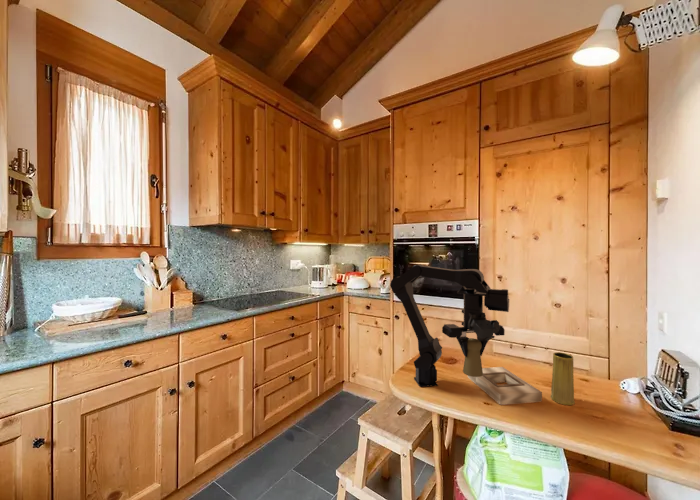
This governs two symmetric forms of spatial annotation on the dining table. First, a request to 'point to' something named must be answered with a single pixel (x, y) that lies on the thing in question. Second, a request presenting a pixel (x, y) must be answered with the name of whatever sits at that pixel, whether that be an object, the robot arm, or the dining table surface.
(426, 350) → the robot arm
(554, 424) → the dining table surface
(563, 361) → the vase
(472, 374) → the olive tall rounded piece
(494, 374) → the socket board
